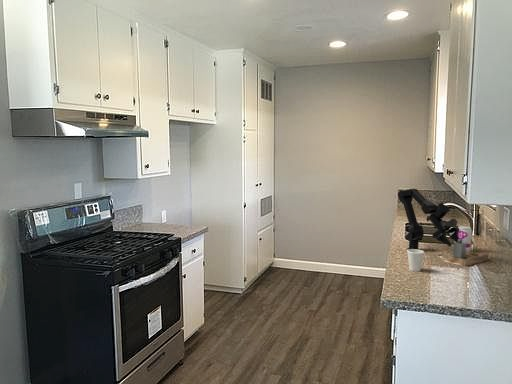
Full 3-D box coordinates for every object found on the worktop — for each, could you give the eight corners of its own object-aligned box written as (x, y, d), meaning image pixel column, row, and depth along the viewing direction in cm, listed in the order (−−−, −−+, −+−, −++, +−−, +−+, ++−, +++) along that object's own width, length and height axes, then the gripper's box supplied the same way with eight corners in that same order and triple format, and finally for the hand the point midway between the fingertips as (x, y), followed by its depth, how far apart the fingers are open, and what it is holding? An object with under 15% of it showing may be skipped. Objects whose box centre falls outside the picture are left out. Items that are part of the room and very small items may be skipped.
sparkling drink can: (466, 253, 259) (468, 228, 258) (453, 250, 266) (454, 226, 264) (472, 251, 265) (474, 227, 263) (459, 248, 271) (460, 225, 269)
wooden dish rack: (440, 261, 239) (441, 253, 239) (464, 255, 253) (464, 248, 252) (464, 267, 228) (465, 259, 227) (488, 261, 241) (488, 253, 241)
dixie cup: (403, 268, 226) (403, 249, 225) (415, 266, 229) (416, 248, 228) (414, 272, 218) (414, 253, 217) (427, 271, 221) (427, 252, 220)
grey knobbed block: (452, 261, 238) (453, 239, 236) (457, 260, 240) (458, 238, 239) (460, 263, 234) (461, 240, 233) (465, 261, 236) (466, 239, 235)
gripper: (438, 215, 236) (456, 238, 228) (457, 212, 246) (475, 234, 238) (424, 227, 243) (441, 250, 235) (443, 224, 253) (460, 245, 245)
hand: (455, 244), depth 238 cm, fingers open, 9 cm apart
